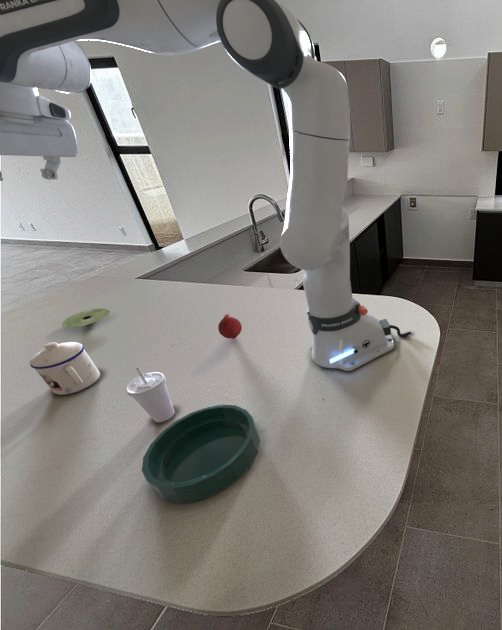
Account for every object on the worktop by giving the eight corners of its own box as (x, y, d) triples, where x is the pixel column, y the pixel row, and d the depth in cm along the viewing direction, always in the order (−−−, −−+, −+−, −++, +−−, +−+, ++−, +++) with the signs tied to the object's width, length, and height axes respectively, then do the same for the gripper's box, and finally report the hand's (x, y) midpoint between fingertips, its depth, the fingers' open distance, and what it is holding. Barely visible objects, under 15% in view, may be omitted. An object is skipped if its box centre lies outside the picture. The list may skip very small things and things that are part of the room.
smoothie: (155, 432, 68) (123, 381, 61) (140, 419, 71) (108, 369, 64) (187, 411, 73) (161, 362, 65) (172, 400, 76) (146, 351, 68)
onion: (236, 345, 94) (227, 321, 89) (218, 342, 95) (208, 319, 90) (249, 333, 98) (241, 310, 94) (231, 331, 99) (223, 308, 95)
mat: (91, 333, 99) (88, 327, 98) (54, 332, 99) (50, 327, 98) (121, 313, 109) (118, 308, 108) (87, 313, 109) (84, 308, 108)
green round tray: (253, 409, 73) (247, 393, 71) (267, 472, 60) (260, 455, 58) (157, 444, 66) (146, 427, 63) (150, 525, 53) (136, 508, 50)
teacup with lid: (47, 386, 80) (16, 347, 74) (94, 365, 86) (69, 328, 80) (62, 407, 74) (30, 367, 68) (112, 383, 80) (86, 345, 74)
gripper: (-60, 90, 50) (-30, 186, 56) (78, 111, 69) (90, 181, 74) (-102, 80, 50) (-68, 176, 55) (47, 104, 68) (62, 174, 74)
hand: (24, 179), depth 65 cm, fingers open, 8 cm apart
